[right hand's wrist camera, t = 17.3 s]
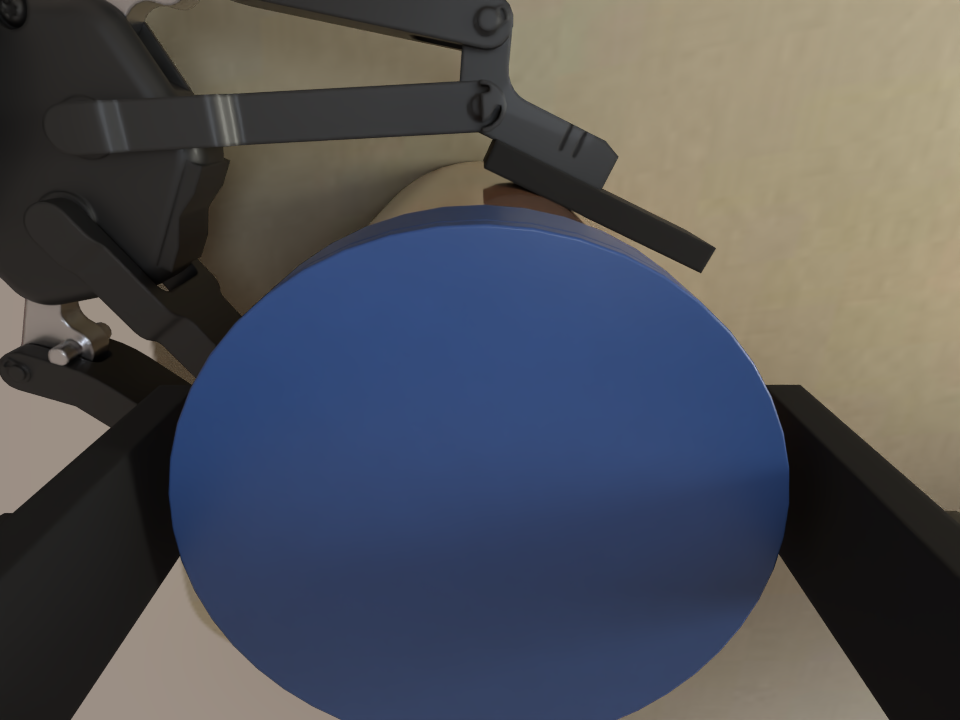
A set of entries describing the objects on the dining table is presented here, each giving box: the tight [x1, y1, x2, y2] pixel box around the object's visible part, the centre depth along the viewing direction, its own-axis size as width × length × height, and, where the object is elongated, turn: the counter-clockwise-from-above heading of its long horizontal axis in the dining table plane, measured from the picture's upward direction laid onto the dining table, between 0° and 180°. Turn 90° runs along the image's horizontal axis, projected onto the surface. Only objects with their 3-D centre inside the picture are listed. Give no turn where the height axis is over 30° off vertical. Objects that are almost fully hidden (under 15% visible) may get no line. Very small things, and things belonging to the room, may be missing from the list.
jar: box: [368, 161, 592, 227], centre depth 18 cm, size 9×9×15 cm
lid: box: [169, 205, 789, 720], centre depth 11 cm, size 10×10×2 cm
